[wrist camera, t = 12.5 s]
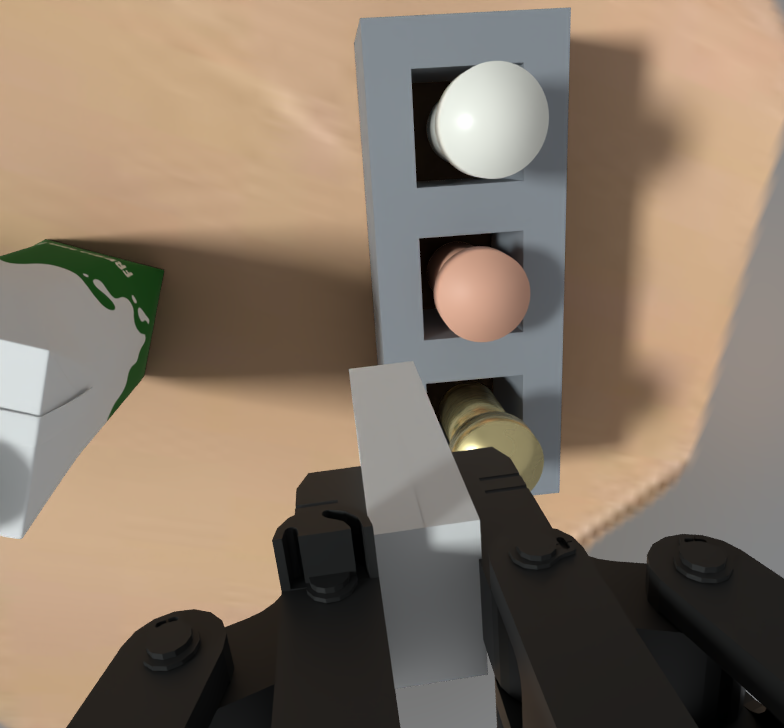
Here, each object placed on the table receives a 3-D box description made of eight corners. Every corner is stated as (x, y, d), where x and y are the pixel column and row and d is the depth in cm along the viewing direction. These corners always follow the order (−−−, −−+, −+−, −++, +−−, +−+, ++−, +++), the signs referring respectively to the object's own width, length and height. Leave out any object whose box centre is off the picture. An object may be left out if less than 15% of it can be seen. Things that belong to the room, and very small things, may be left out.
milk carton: (13, 359, 40) (-271, 544, 21) (32, 217, 37) (-272, 280, 18) (156, 392, 41) (12, 591, 22) (183, 257, 39) (47, 353, 20)
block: (354, 43, 36) (360, 18, 29) (526, 34, 37) (570, 7, 30) (384, 456, 44) (394, 510, 38) (525, 442, 45) (559, 492, 38)
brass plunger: (428, 377, 38) (451, 427, 31) (505, 370, 38) (544, 418, 31) (431, 448, 39) (454, 511, 32) (505, 441, 39) (543, 501, 32)
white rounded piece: (414, 83, 33) (438, 63, 26) (503, 78, 33) (550, 57, 26) (419, 176, 34) (442, 182, 27) (503, 171, 34) (548, 175, 27)
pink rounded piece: (416, 235, 37) (436, 254, 30) (493, 230, 38) (530, 246, 31) (420, 312, 39) (440, 346, 32) (494, 305, 39) (530, 338, 32)
